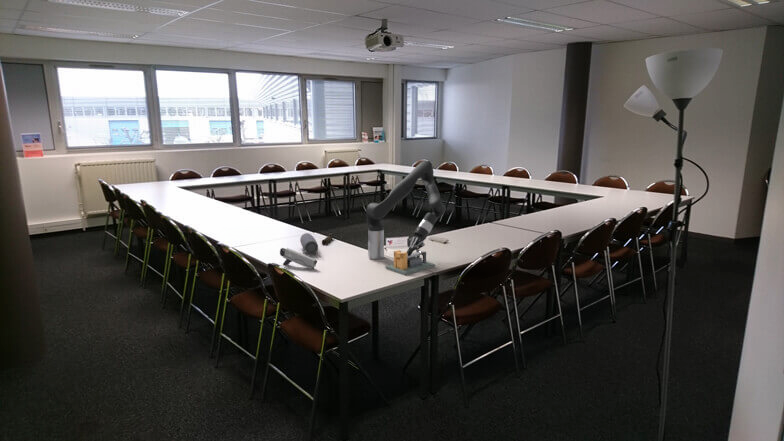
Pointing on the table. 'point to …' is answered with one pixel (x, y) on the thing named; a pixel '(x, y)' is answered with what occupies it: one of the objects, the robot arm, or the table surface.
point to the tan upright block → (400, 260)
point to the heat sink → (414, 262)
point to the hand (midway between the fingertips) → (408, 254)
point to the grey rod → (415, 254)
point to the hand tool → (327, 239)
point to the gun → (297, 258)
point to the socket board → (414, 269)
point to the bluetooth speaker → (309, 243)
